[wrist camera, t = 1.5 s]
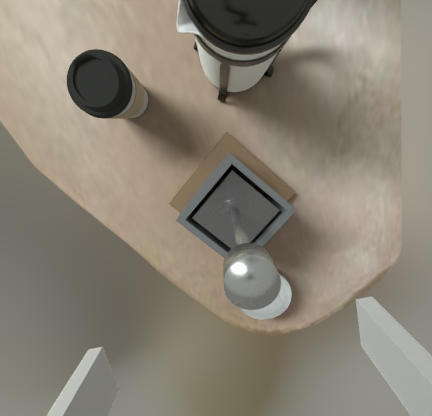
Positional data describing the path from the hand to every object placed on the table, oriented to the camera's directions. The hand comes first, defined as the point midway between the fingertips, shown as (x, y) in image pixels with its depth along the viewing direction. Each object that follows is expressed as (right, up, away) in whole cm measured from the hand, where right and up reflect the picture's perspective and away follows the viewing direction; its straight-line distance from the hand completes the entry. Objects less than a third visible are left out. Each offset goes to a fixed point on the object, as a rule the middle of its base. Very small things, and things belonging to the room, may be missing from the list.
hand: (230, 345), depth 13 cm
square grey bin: (+2, +9, +40) cm, 41 cm away
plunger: (+2, +6, +28) cm, 28 cm away
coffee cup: (-17, +28, +36) cm, 49 cm away
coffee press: (+3, +35, +34) cm, 49 cm away
